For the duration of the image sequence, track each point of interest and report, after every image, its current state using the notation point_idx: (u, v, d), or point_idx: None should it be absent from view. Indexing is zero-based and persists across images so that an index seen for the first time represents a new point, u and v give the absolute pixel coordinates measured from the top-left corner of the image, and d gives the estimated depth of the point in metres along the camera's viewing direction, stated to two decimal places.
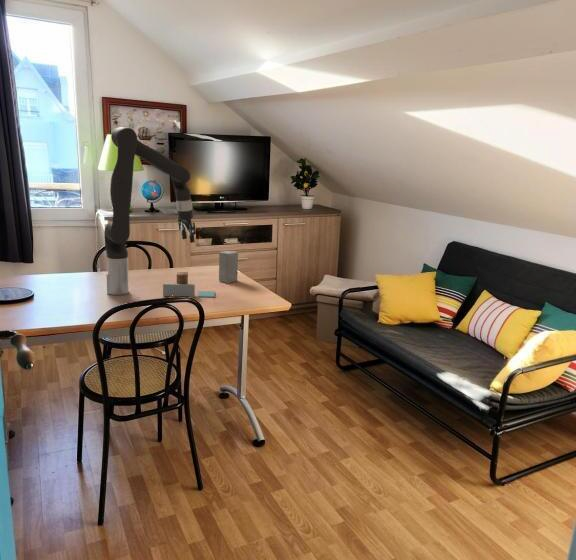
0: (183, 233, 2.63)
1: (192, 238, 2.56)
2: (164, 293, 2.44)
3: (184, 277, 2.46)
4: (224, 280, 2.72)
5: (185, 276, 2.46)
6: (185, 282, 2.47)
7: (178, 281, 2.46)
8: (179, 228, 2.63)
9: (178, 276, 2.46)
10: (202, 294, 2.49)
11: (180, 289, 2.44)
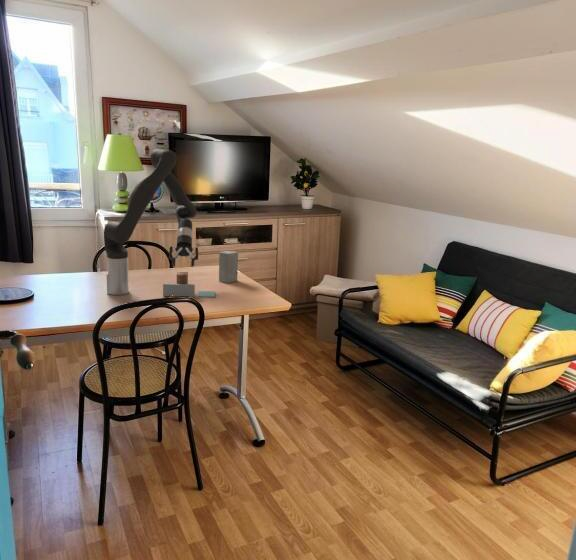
0: None
1: None
2: (164, 293, 2.44)
3: (184, 277, 2.46)
4: (224, 280, 2.72)
5: (185, 276, 2.46)
6: (185, 282, 2.47)
7: (178, 281, 2.46)
8: (170, 255, 2.56)
9: (178, 276, 2.46)
10: (202, 294, 2.49)
11: (180, 289, 2.44)
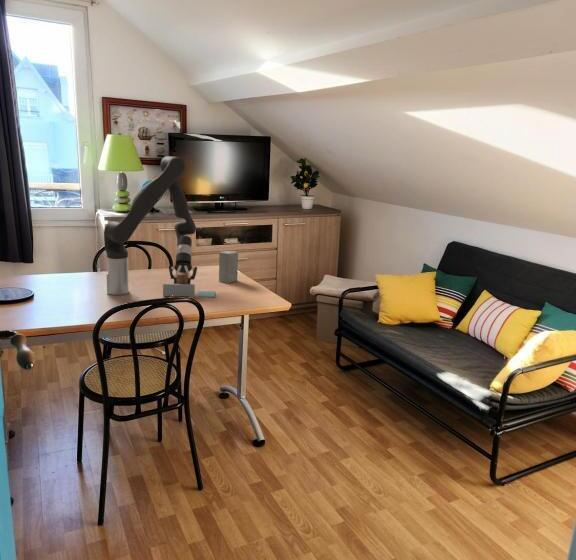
0: None
1: None
2: (164, 293, 2.44)
3: (184, 277, 2.46)
4: (224, 280, 2.72)
5: (185, 276, 2.46)
6: (185, 282, 2.47)
7: (178, 281, 2.46)
8: (171, 274, 2.49)
9: (178, 276, 2.46)
10: (202, 294, 2.49)
11: (180, 289, 2.44)
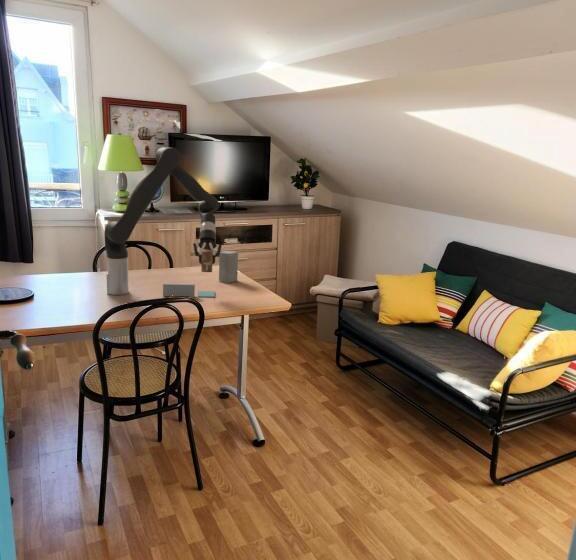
0: (201, 257, 2.46)
1: None
2: (164, 293, 2.44)
3: (209, 254, 2.43)
4: (224, 280, 2.72)
5: (210, 253, 2.43)
6: (210, 259, 2.44)
7: (203, 258, 2.44)
8: (196, 251, 2.46)
9: (203, 253, 2.43)
10: (202, 294, 2.49)
11: (180, 289, 2.44)
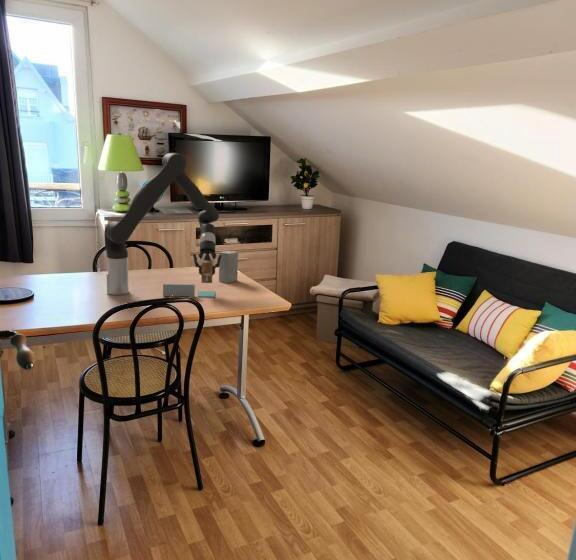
0: (201, 268, 2.47)
1: None
2: (164, 293, 2.44)
3: (209, 265, 2.45)
4: (224, 280, 2.72)
5: (210, 264, 2.45)
6: (210, 270, 2.46)
7: (203, 269, 2.45)
8: (196, 262, 2.47)
9: (203, 264, 2.44)
10: (202, 294, 2.49)
11: (180, 289, 2.44)
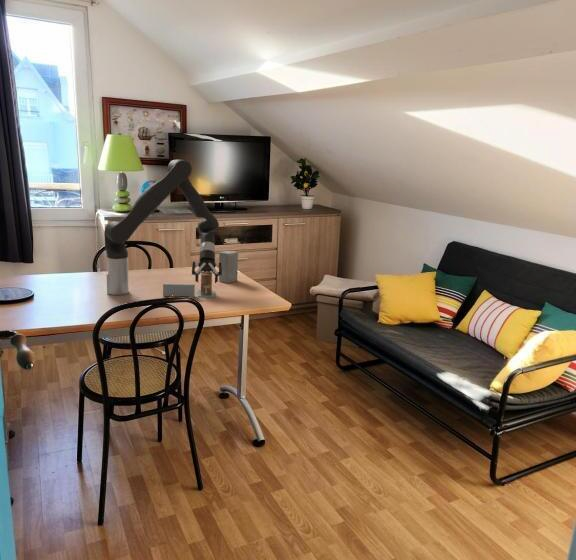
0: None
1: (217, 278, 2.50)
2: (164, 293, 2.44)
3: (208, 277, 2.46)
4: (224, 280, 2.72)
5: (209, 276, 2.46)
6: (209, 282, 2.47)
7: (202, 281, 2.47)
8: (193, 270, 2.49)
9: (202, 276, 2.46)
10: None
11: (180, 289, 2.44)
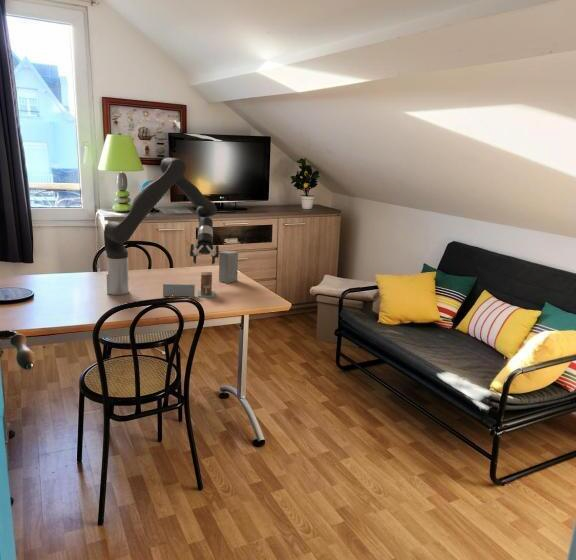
0: None
1: (214, 259, 2.61)
2: (164, 293, 2.44)
3: (208, 277, 2.46)
4: (224, 280, 2.72)
5: (209, 276, 2.46)
6: (209, 282, 2.47)
7: (202, 281, 2.47)
8: (191, 252, 2.59)
9: (202, 276, 2.46)
10: None
11: (180, 289, 2.44)
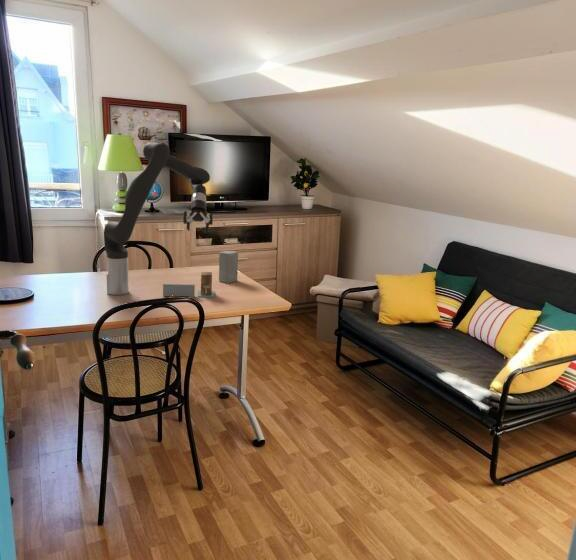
0: (189, 224, 2.56)
1: (208, 226, 2.57)
2: (164, 293, 2.44)
3: (208, 277, 2.46)
4: (224, 280, 2.72)
5: (209, 276, 2.46)
6: (209, 282, 2.47)
7: (202, 281, 2.47)
8: (184, 219, 2.56)
9: (202, 276, 2.46)
10: None
11: (180, 289, 2.44)
